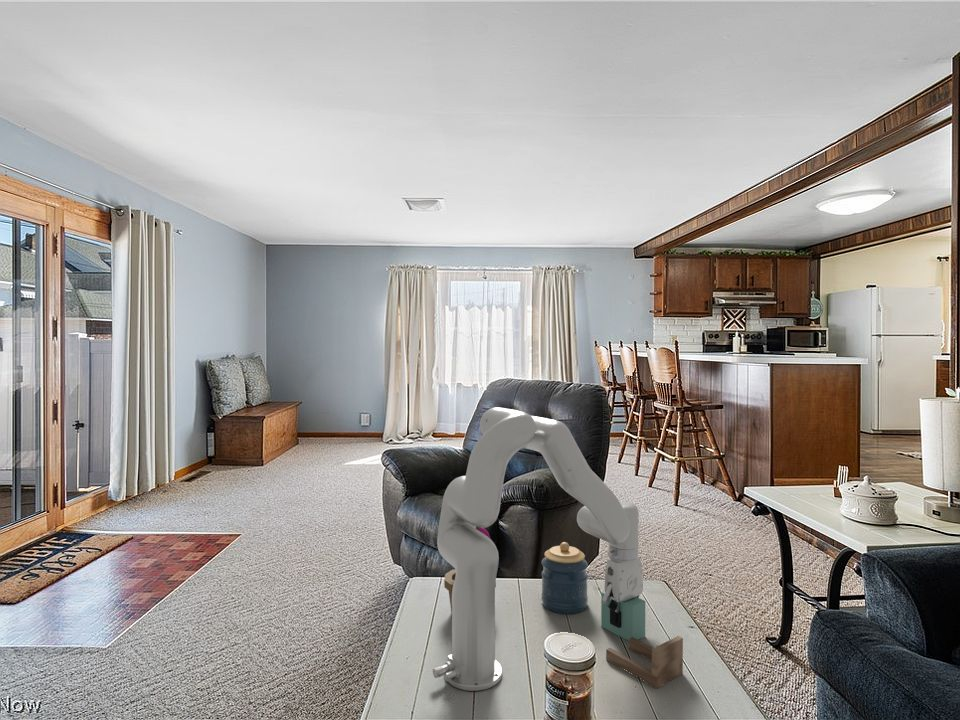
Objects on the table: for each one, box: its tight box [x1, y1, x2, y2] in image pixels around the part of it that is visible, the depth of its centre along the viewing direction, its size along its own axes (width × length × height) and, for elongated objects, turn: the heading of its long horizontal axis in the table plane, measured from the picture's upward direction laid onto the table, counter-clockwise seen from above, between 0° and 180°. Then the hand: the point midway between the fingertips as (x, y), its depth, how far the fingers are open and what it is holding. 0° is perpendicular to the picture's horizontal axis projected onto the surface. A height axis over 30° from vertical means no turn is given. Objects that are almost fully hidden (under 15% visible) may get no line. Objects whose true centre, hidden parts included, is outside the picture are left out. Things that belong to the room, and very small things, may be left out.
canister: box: [541, 541, 589, 615], centre depth 159 cm, size 13×13×18 cm
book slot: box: [605, 635, 684, 689], centre depth 127 cm, size 9×14×8 cm
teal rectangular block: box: [600, 590, 646, 641], centre depth 143 cm, size 5×10×9 cm, turn 36°
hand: (622, 621), depth 143 cm, fingers closed on teal rectangular block, 5 cm apart
